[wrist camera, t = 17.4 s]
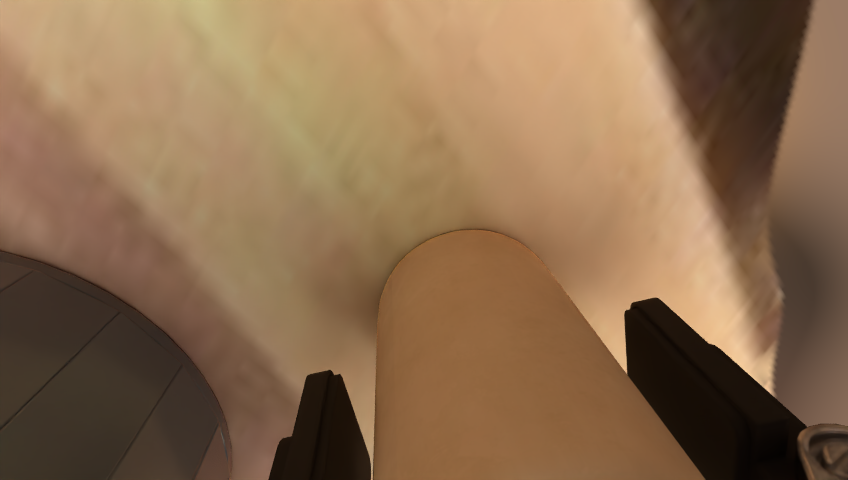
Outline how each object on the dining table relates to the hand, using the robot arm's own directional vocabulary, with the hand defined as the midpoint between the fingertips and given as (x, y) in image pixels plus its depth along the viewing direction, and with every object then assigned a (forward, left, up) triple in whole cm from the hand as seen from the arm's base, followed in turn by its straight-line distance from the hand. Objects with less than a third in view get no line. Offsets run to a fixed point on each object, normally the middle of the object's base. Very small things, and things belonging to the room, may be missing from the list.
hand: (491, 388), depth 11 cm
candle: (0, 0, -4) cm, 4 cm away
